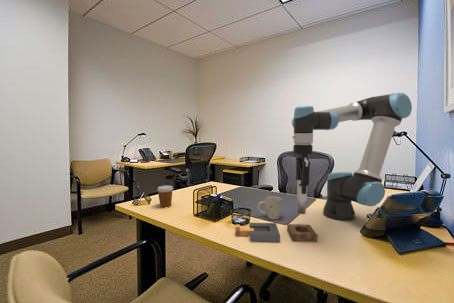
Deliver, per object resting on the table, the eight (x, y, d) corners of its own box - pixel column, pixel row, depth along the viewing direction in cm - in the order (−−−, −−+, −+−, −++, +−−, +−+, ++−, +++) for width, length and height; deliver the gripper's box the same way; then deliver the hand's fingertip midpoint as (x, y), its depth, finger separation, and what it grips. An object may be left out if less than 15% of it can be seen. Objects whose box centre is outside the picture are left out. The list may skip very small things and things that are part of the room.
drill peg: (304, 211, 96) (305, 179, 95) (306, 214, 93) (307, 181, 92) (295, 211, 97) (296, 179, 95) (297, 214, 93) (298, 181, 92)
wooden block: (253, 233, 98) (253, 224, 98) (254, 236, 96) (254, 227, 95) (235, 233, 99) (235, 224, 99) (235, 236, 96) (235, 227, 96)
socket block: (275, 229, 102) (275, 223, 102) (280, 242, 90) (280, 235, 90) (249, 228, 103) (249, 222, 103) (250, 241, 91) (250, 234, 91)
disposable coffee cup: (161, 203, 142) (161, 185, 141) (176, 204, 140) (175, 185, 139) (154, 208, 132) (154, 188, 131) (170, 209, 131) (169, 189, 130)
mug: (282, 221, 112) (282, 201, 111) (256, 219, 114) (256, 200, 114) (281, 214, 120) (281, 196, 119) (257, 213, 123) (257, 195, 122)
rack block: (309, 231, 100) (309, 224, 100) (317, 241, 90) (317, 234, 90) (287, 230, 101) (287, 224, 101) (292, 241, 91) (292, 234, 91)
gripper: (289, 143, 101) (288, 194, 103) (298, 145, 84) (297, 205, 86) (306, 143, 100) (305, 194, 102) (319, 145, 84) (317, 205, 86)
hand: (301, 199), depth 94 cm, fingers closed on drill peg, 3 cm apart
